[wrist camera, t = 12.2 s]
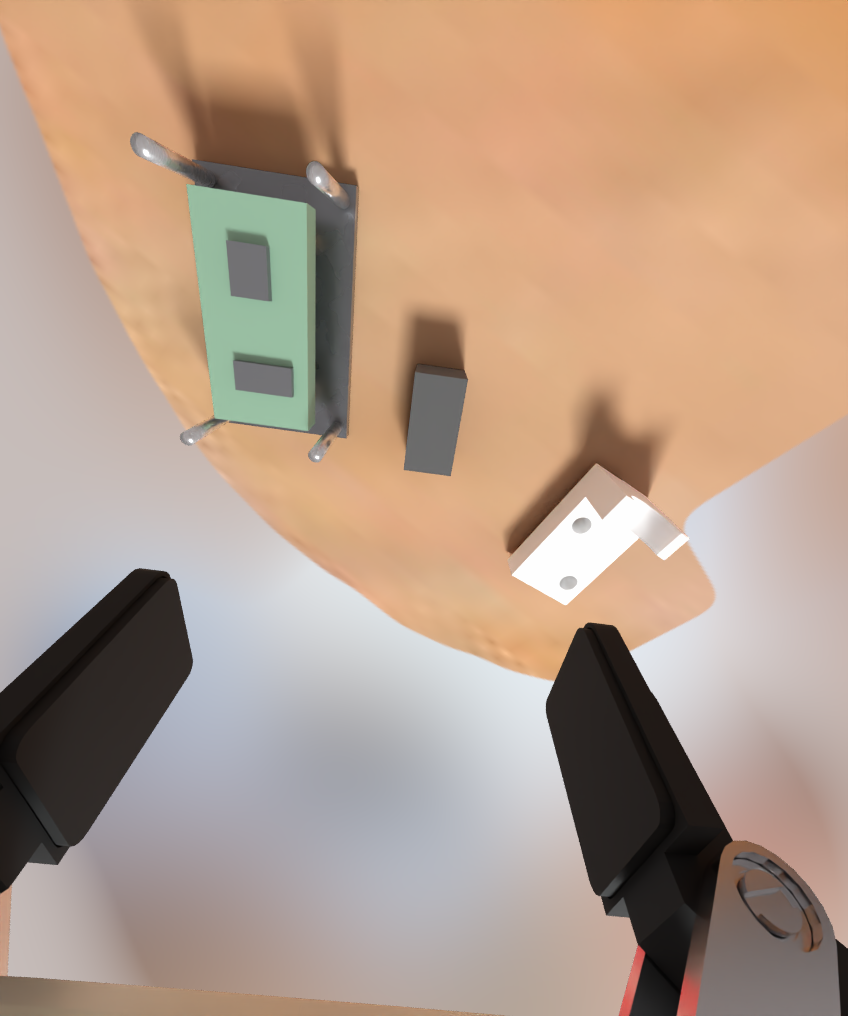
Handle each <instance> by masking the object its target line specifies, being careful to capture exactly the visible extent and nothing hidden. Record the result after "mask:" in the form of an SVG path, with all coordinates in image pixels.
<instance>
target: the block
mask: <svg viewBox="0 0 848 1016" xmlns="http://www.w3.org/2000/svg"><path fill="white" fill-rule="evenodd" d="M467 382H468V379H467V376H466V373H465V370H458V369H451V368H444V367H437V366H430V365H423V364H417V367H416V371H415V378H414V386H413V395H412V403H411V412H410V421H409V429H408V438H407V446H406V455H405V463H404V470H409V471H416V472H424V473H431V474H439V475H446V476H451V471H452V465H453V460H454V454H455V448H456V443H457V437H458V432H459V426H460V421H461V415H462V409H463V404H464V398H465V393H466V387H467Z"/></svg>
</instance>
